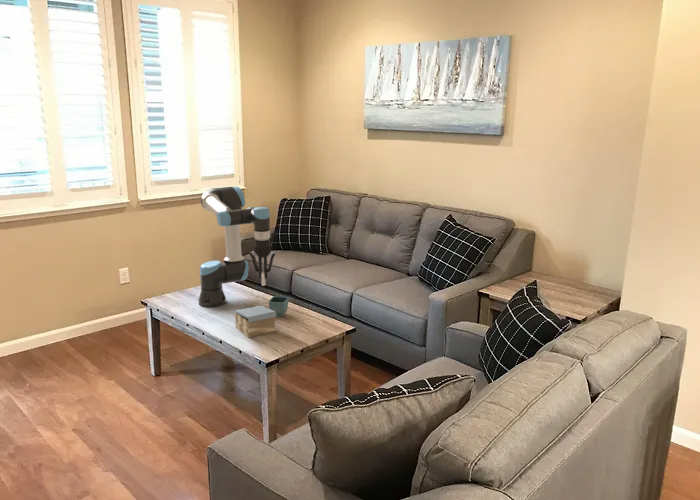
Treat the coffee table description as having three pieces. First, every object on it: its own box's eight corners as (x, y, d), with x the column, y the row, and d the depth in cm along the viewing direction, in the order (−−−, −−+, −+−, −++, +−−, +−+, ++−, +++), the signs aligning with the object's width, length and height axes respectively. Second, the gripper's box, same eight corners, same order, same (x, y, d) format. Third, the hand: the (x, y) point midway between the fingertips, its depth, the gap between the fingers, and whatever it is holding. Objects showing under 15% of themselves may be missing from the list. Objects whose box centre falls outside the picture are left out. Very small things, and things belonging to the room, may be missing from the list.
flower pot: (284, 318, 295) (284, 302, 293) (268, 317, 297) (267, 301, 295) (289, 313, 304) (289, 297, 301) (273, 311, 305) (273, 296, 303)
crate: (236, 327, 283) (235, 312, 281) (261, 321, 291) (261, 307, 289) (248, 338, 270) (248, 322, 268) (275, 332, 278) (274, 316, 276)
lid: (235, 315, 281) (234, 310, 281) (261, 309, 289) (261, 305, 289) (248, 322, 267) (248, 317, 267) (276, 316, 275) (275, 311, 274)
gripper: (247, 240, 271) (249, 286, 277) (274, 240, 270) (275, 287, 276) (250, 236, 278) (252, 282, 284) (276, 237, 278) (277, 282, 284)
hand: (263, 284), depth 280 cm, fingers closed
